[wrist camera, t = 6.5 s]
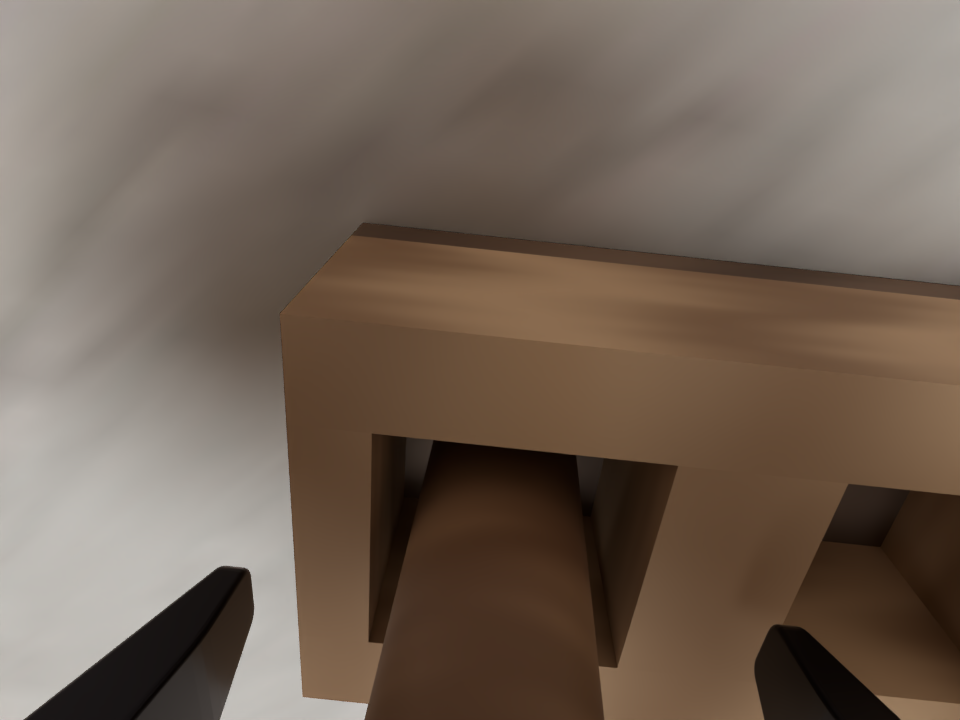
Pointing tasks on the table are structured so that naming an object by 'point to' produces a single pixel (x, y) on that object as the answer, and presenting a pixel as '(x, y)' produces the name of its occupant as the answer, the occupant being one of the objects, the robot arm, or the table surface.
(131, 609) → the table surface
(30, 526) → the table surface
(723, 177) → the table surface
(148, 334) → the table surface
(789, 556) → the bore block
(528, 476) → the dowel
